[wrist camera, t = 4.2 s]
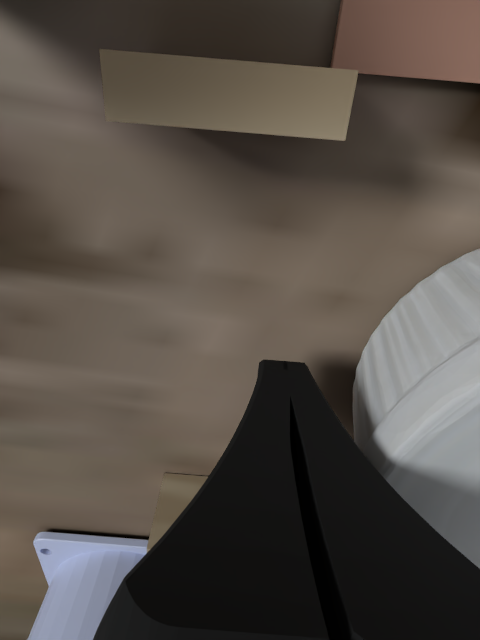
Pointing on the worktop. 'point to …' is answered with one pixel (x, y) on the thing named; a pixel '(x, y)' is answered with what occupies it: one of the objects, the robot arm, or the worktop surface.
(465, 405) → the ramekin
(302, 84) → the lane
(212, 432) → the worktop surface
